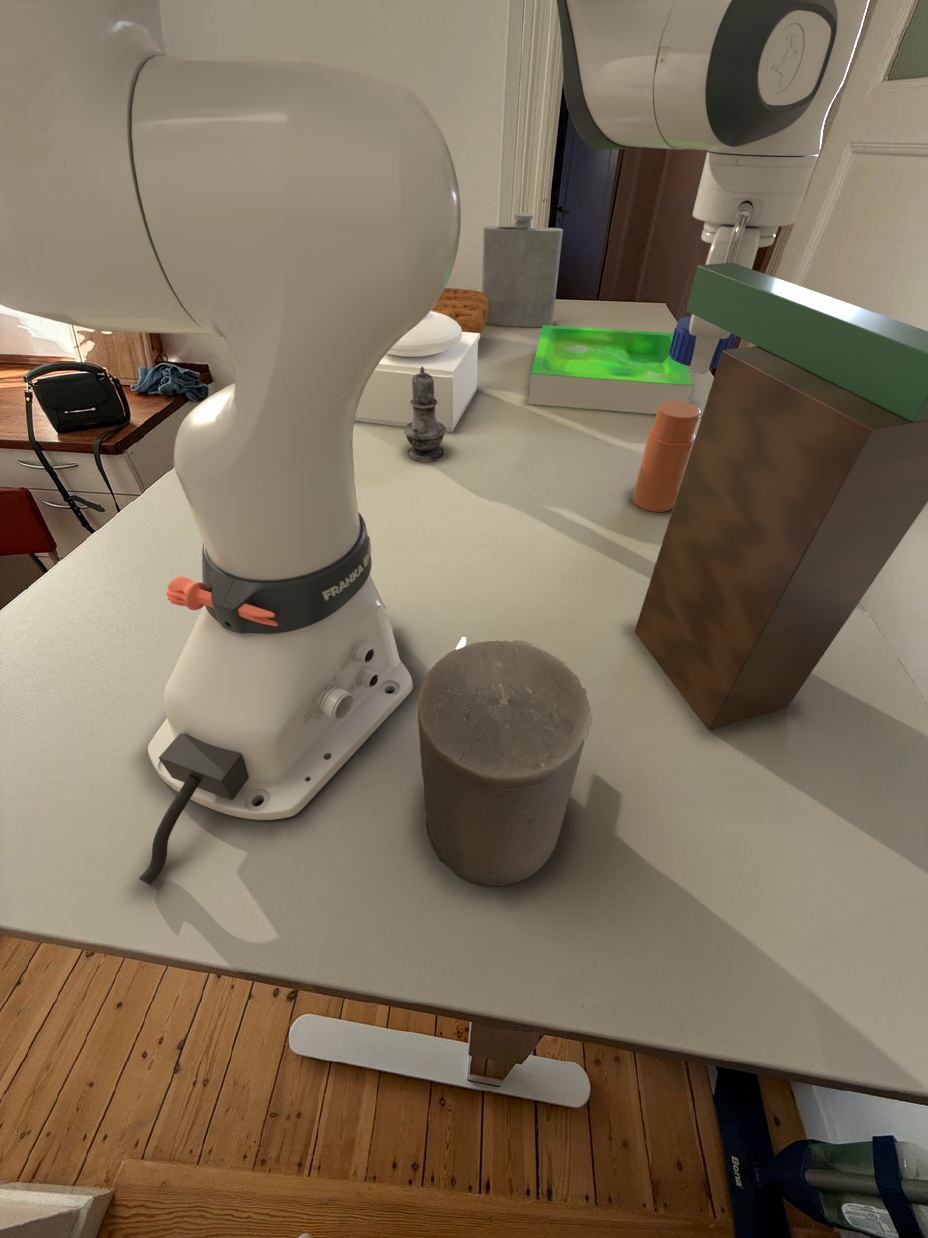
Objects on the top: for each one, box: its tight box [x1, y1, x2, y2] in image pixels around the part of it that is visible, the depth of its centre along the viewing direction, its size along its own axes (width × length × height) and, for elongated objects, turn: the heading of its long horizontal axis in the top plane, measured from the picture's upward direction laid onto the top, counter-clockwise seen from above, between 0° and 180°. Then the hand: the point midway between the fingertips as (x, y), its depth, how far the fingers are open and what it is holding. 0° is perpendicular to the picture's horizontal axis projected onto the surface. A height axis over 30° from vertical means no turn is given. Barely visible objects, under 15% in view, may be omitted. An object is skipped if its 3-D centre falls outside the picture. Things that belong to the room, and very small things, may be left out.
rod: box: [685, 263, 928, 422], centre depth 34 cm, size 20×3×3 cm, turn 18°
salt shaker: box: [403, 367, 447, 463], centre depth 75 cm, size 6×6×12 cm
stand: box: [634, 345, 928, 731], centre depth 42 cm, size 12×8×26 cm, turn 18°
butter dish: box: [354, 311, 481, 433], centre depth 87 cm, size 18×18×16 cm
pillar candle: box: [417, 639, 593, 887], centre depth 35 cm, size 10×10×15 cm
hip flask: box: [481, 212, 564, 328], centre depth 116 cm, size 16×4×20 cm, turn 83°
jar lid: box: [669, 315, 739, 369], centre depth 57 cm, size 6×6×3 cm
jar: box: [632, 401, 702, 513], centre depth 67 cm, size 5×5×12 cm
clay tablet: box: [431, 287, 489, 336], centre depth 111 cm, size 22×17×8 cm
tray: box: [528, 325, 693, 415], centre depth 98 cm, size 25×25×5 cm
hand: (701, 359), depth 58 cm, fingers closed on jar lid, 6 cm apart
